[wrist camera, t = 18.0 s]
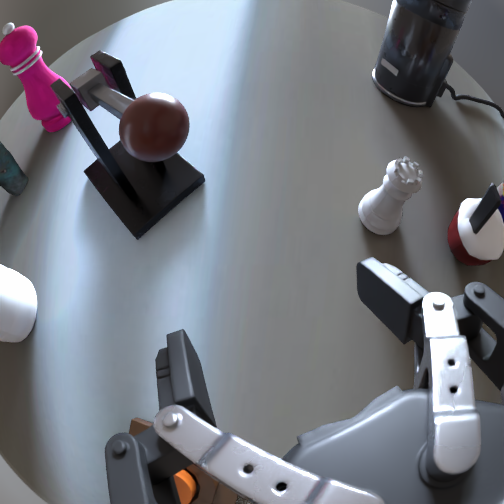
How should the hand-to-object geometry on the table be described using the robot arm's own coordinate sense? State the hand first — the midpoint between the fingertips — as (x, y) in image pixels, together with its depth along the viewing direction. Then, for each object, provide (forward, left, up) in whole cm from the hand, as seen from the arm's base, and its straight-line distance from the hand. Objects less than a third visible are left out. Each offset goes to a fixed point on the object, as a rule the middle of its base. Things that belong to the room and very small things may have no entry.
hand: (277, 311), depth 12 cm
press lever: (+12, -10, 0) cm, 15 cm away
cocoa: (-18, -12, -12) cm, 25 cm away
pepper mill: (+37, -23, -12) cm, 45 cm away
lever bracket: (+17, -13, -12) cm, 24 cm away
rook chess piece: (-8, -13, -12) cm, 20 cm away
